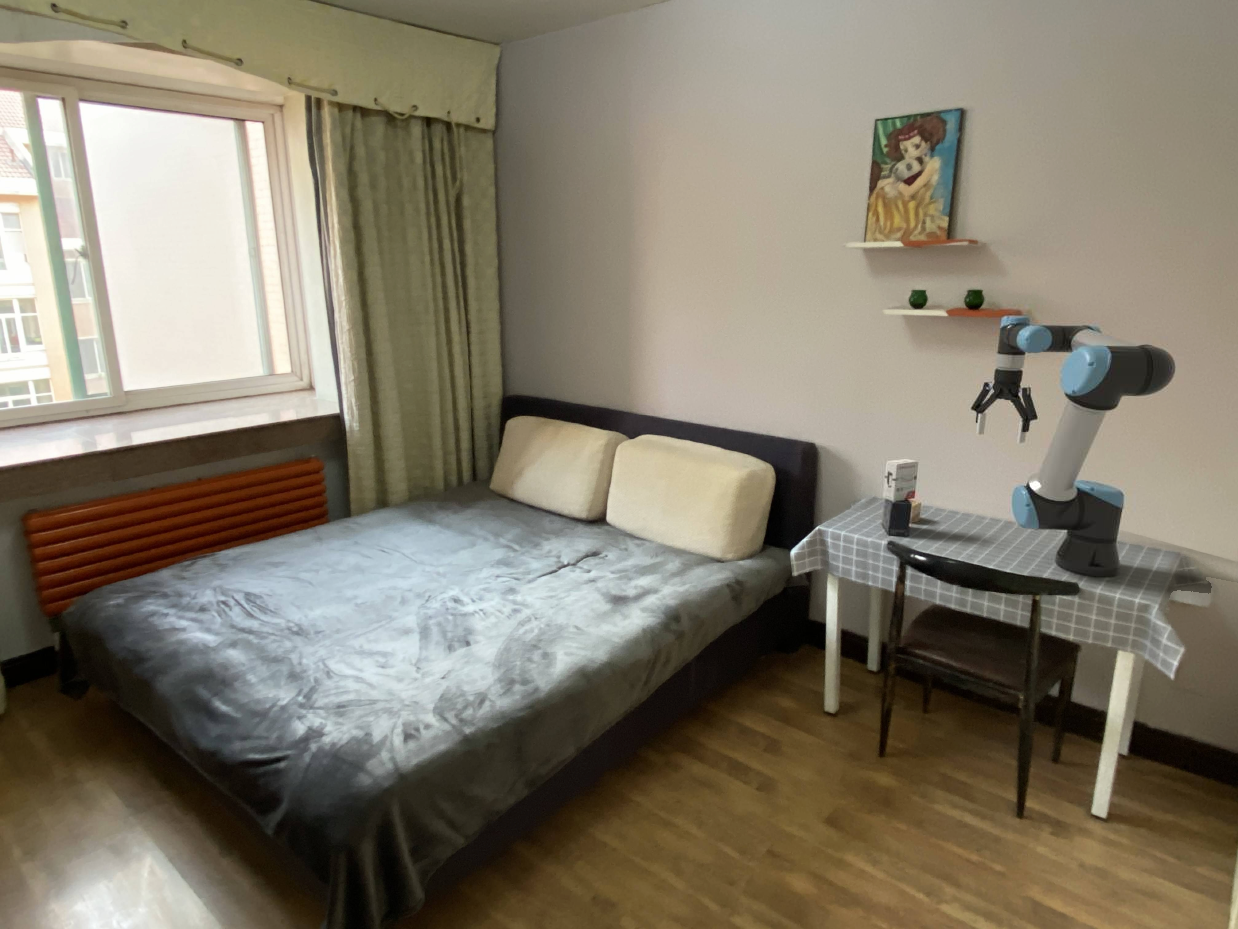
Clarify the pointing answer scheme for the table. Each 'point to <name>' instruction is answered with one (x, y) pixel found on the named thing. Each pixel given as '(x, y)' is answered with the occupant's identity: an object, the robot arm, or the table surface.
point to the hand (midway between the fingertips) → (999, 438)
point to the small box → (896, 517)
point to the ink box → (900, 479)
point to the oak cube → (915, 511)
